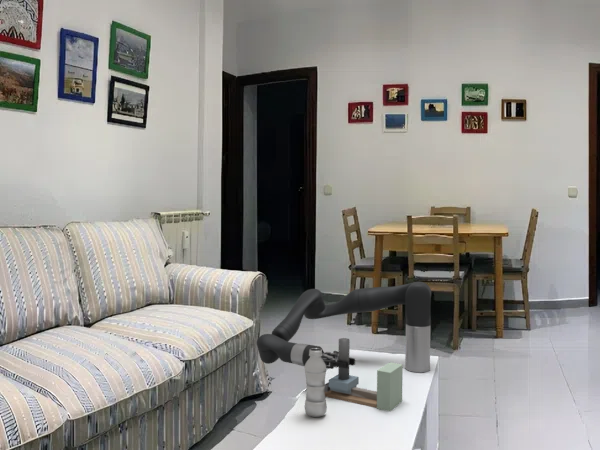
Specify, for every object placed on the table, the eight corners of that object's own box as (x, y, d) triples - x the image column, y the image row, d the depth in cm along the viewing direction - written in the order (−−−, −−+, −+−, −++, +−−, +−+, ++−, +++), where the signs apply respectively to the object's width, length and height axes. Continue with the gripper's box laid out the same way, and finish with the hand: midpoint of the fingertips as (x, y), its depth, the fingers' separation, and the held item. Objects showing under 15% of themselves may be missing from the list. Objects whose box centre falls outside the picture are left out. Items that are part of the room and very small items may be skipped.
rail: (334, 387, 192) (334, 379, 192) (388, 398, 182) (388, 389, 182) (321, 395, 185) (321, 386, 184) (376, 407, 174) (376, 398, 174)
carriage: (340, 384, 190) (340, 335, 190) (358, 388, 187) (359, 338, 186) (328, 391, 184) (328, 340, 183) (347, 395, 180) (348, 343, 179)
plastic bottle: (324, 420, 164) (325, 353, 163) (302, 418, 165) (302, 352, 164) (328, 412, 170) (328, 347, 169) (306, 410, 172) (306, 346, 171)
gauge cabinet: (387, 398, 182) (387, 362, 182) (402, 401, 180) (402, 364, 179) (374, 407, 174) (375, 370, 173) (390, 411, 171) (390, 372, 171)
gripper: (296, 349, 186) (341, 357, 177) (317, 340, 198) (361, 347, 189) (295, 371, 186) (341, 380, 177) (317, 361, 198) (361, 369, 189)
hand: (351, 363), depth 183 cm, fingers closed on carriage, 3 cm apart
